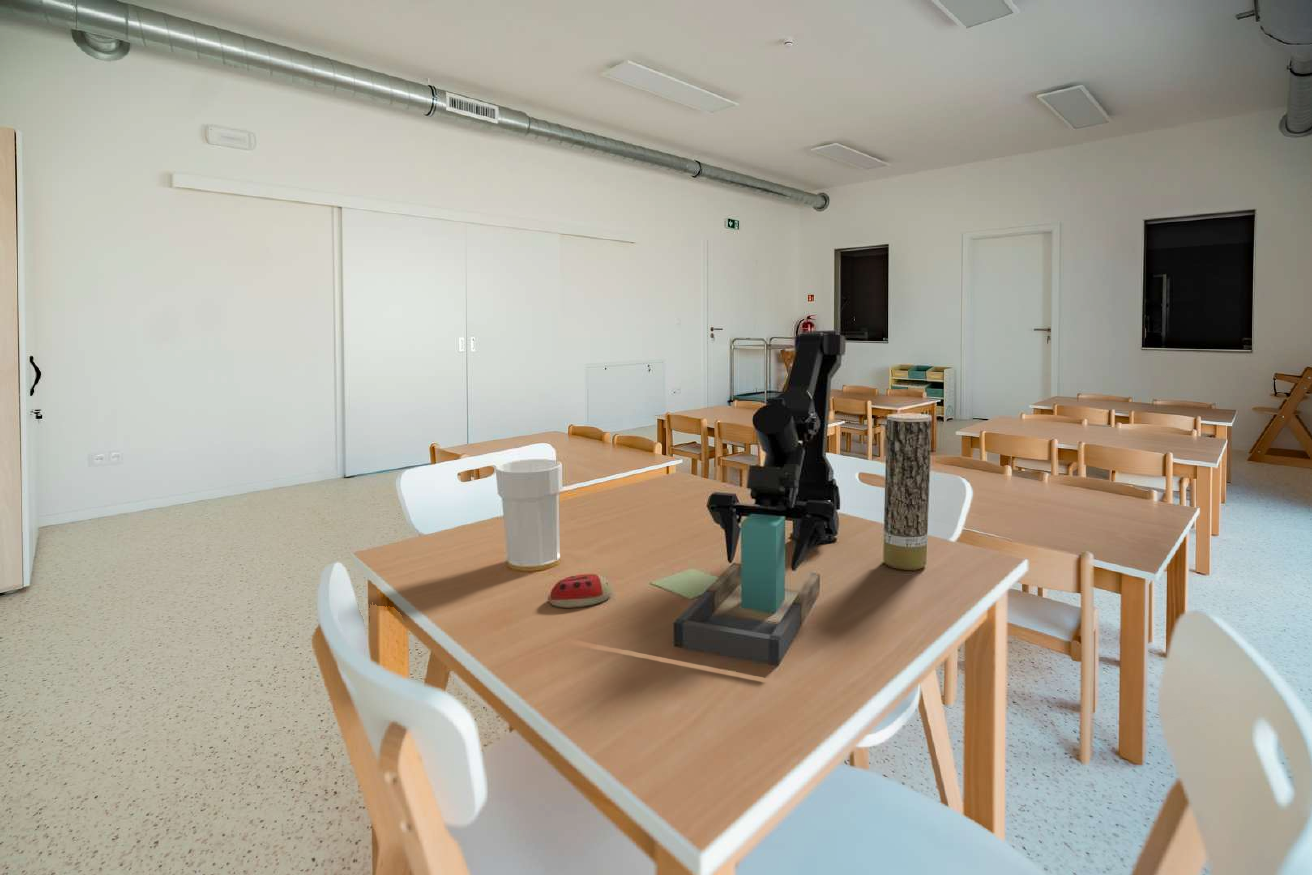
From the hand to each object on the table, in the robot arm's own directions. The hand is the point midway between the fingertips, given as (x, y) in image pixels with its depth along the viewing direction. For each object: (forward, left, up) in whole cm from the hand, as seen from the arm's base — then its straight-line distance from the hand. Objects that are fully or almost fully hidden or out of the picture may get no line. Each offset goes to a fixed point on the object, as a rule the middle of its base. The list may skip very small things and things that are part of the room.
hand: (760, 565), depth 96 cm
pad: (+6, -12, -7) cm, 15 cm away
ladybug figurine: (+23, -14, -7) cm, 28 cm away
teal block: (-1, -1, -6) cm, 6 cm away
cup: (+26, -34, -7) cm, 43 cm away
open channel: (-1, -1, -7) cm, 7 cm away
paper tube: (-31, -7, -7) cm, 32 cm away
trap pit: (+7, +7, -7) cm, 12 cm away
